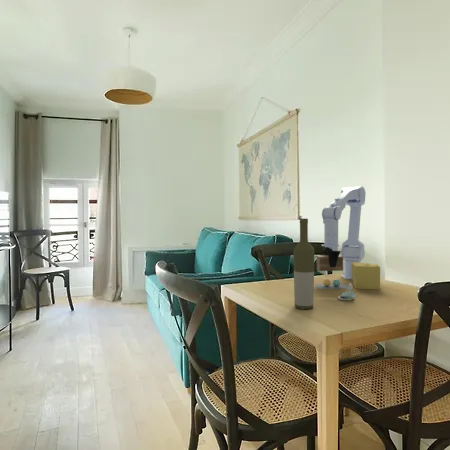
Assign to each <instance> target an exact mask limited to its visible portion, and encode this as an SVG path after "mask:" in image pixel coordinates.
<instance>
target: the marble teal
mask: <svg viewBox="0 0 450 450" xmlns="http://www.w3.org/2000/svg"><path fill="white" fill-rule="evenodd" d="M332 284H333V285H334V286H339V285H340V284H341V281H340V280H339V279H338V278H337V279H336V278H335V279H333V281H332Z"/></svg>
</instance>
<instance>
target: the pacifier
mask: <svg viewBox="0 0 450 450" xmlns="http://www.w3.org/2000/svg"><path fill="white" fill-rule="evenodd" d="M347 287H348V289H346V291H345V292H343V293H341V295H338V296H337V299H338V300H339V301H352V299H355V297H356V294H355V292H353V291H352V290H353V288H354V285H353V283H352V282H349V284H348V285H347Z"/></svg>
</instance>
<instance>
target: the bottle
mask: <svg viewBox="0 0 450 450" xmlns="http://www.w3.org/2000/svg"><path fill="white" fill-rule="evenodd" d="M308 224H309V218H299V242H298V243H297V244H296V245H295V247H293V251H292V252H293V253H292V254H293V283H294V284H293V289H294V290H293V292H294V297H293V298H294V307H295V308H297V309H300V310H310V309H313V307H314V301H315V300H314V299H315V298H314V291H315V248H314V247H313V246H312V244H311V243H310V242H309V238H308V236H309V228H308V227H309V225H308Z"/></svg>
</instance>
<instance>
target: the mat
mask: <svg viewBox="0 0 450 450" xmlns="http://www.w3.org/2000/svg"><path fill="white" fill-rule="evenodd" d="M314 287H316V288H317V289H319V290H320V289H329V290H331V289H332V290H333V289H334V290H337V289H338V290H339V289H340V290H345V289H346V290H347V289H348V285H346V284H344V283H340V285H339V286H334V285H333V283H331V284H330V285H329V286H325V285H324V284H323V283H314Z"/></svg>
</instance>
